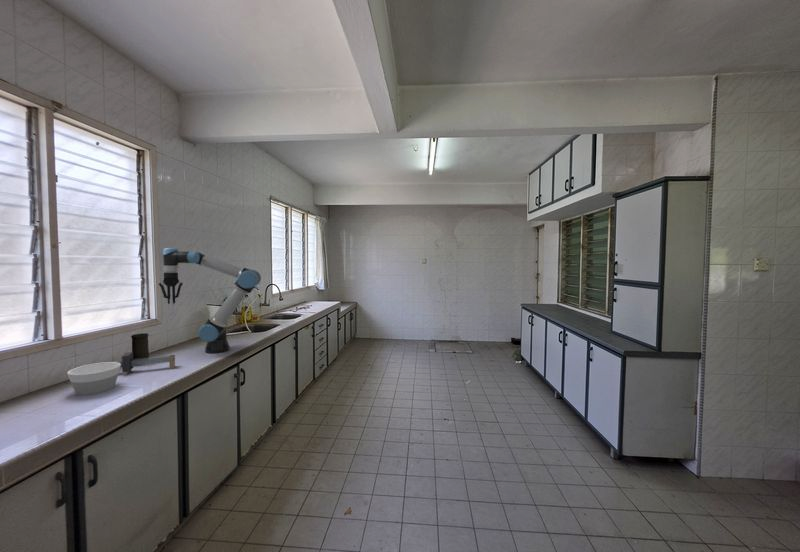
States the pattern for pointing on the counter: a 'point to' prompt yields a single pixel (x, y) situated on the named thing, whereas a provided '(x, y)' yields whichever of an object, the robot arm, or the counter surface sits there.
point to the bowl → (94, 377)
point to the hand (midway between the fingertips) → (171, 308)
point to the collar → (127, 362)
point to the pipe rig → (151, 361)
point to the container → (140, 346)
